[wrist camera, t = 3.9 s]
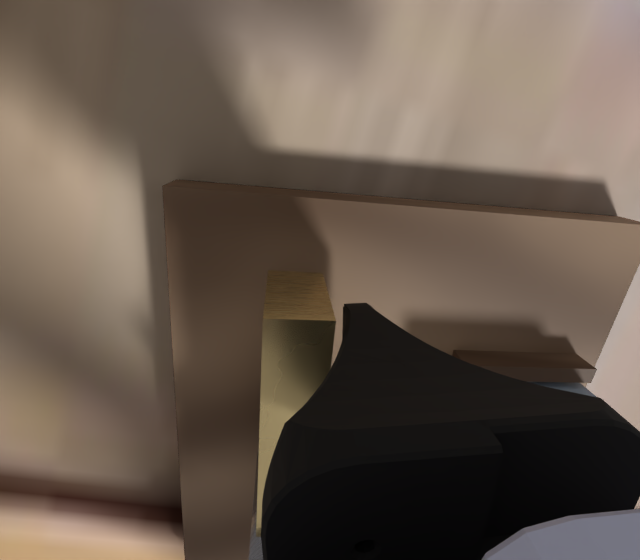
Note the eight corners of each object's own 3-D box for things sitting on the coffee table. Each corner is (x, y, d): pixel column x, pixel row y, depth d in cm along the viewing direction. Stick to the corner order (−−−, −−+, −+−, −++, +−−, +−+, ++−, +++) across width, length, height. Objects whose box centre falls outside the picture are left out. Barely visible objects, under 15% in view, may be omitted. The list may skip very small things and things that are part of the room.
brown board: (491, 537, 20) (518, 589, 18) (193, 547, 18) (180, 607, 16) (618, 216, 14) (686, 233, 12) (176, 179, 12) (150, 191, 10)
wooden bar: (441, 495, 16) (493, 613, 12) (255, 500, 15) (245, 630, 11) (506, 272, 12) (611, 340, 8) (262, 260, 11) (251, 330, 7)
